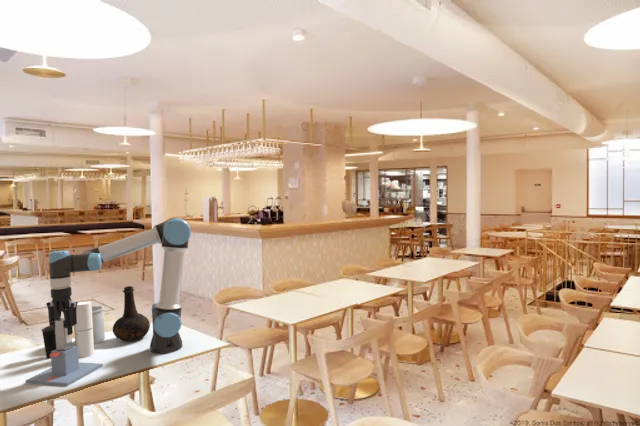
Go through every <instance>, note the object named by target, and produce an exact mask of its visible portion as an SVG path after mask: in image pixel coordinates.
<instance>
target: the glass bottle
mask: <svg viewBox="0 0 640 426" xmlns="http://www.w3.org/2000/svg"><path fill="white" fill-rule="evenodd" d="M134 291H135V289H134V287H133V286H131V285H130V286H129V285H128V286H125V287H123V290H122V293H123V294H124V303H123V304H124V305H123V307H124V308H123V313H122V316H121V317H119V318H118V319H117V320H116V321H115V322H114V324H113V326H112V332H113V335H114V336H115V338H116V339H118V340H120V341H122V342H133V341H138V340H140V339H143V338H144V337H145V336H146V335H147V334H148V333H149V331H150V329H151V328H150V327H151V323H150V320H149V319H148V318H147V316H145V315H143V314H142V313H139V312H138V310H137V307H136V302H135V296H134Z"/></svg>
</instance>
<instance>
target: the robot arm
mask: <svg viewBox="0 0 640 426" xmlns="http://www.w3.org/2000/svg"><path fill="white" fill-rule="evenodd" d="M191 232H192V231H191V227H190V225H189V223H188V222H187V221H186V220H185V219H182V218H179V217H171V218H169V219H167V220H165V221H162V222H161V223H158V224H155V225H154V226H153V228H150V229H147V230H144V231H141V232H138V233H135V234H133V235H130V236H127V237H124V238H121V239H118V240H115V241H113V242H109V243H106V244H104V245H101V246H98V247H94V248H92V249H87V250H85V251H83V252H82V253H80V254H70V251H69V250H65V249H64V250H55V251H51V252H50V253H49V254H48V267H49V270H48V271H49V287H50V298H51V301H48V302H46V307H47V312H48V314H47V315H48V324H49V325H48V326H51V325H52V326H53V327H54V333H55V334H56V330H55V320H58V319H61V318H62V313H63V318H64V319H65V323H66V327H65V342H66V343H69V342H71V341H72V342H73V332H74V325H76V324H77V314H76V307H77V303H78V301H73V300H72V298H71V296H72V292H73V291H72V286H71V285H72V280H71V273H77V272H78V273H79V272H94V271H100V270H101V269H102V264H103V263H106V262H108V261H111V260H115V259H117V258H120V257H123V256H126V255H129V254H131V253H134V252H137V251H139V250H142V249H145V248H148V247H150V246H154V245H158V244H160V245H161V248H163V250H164V254H163V263H162V264H163V265H162V273H161V283H160V292H159V301H158V302H155V303H152V304H151V316H152V337H151V341H150V345H149V352H151V353H153V354H167V353H173V352H175V351H179V350H181V349H182V348H183V345H184V344H183V340H182V337H181V335H180V330H181V327H182V323H183V322H182V318H181V316H182V308H183V307H182V305H181V303H180V294H181V284H182V283H181V282H182V274H183V265H184V255H185V252H186V251H187V250H188V248H189V241H190V240H189V239H190V238H191V234H192V233H191ZM69 323H70V324H69Z"/></svg>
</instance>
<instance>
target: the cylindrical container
mask: <svg viewBox="0 0 640 426" xmlns="http://www.w3.org/2000/svg"><path fill="white" fill-rule="evenodd" d="M92 306H93V305H92V301H89V300H88V301H87V300H86V301H79V302H77V307H76V314H77V324H76V343H77V345H76V346H78V358H87V357H91V356H93V355H94V354H95V347H94V346H95V344H94V341H93V323H92ZM76 343H75V344H76Z"/></svg>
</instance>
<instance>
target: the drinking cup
mask: <svg viewBox="0 0 640 426" xmlns="http://www.w3.org/2000/svg"><path fill="white" fill-rule="evenodd" d="M40 330H41V332H42V337H43V338H42V339H43V344H44V352H45V356H46V357H45V358H46V359H51V357H50V354H51V351H53V350H56V349H57V347H56V334H55V333H54V327H53V326H52V325H51V326H50V325H47V326H44V328H43V327H42V329H40Z"/></svg>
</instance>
